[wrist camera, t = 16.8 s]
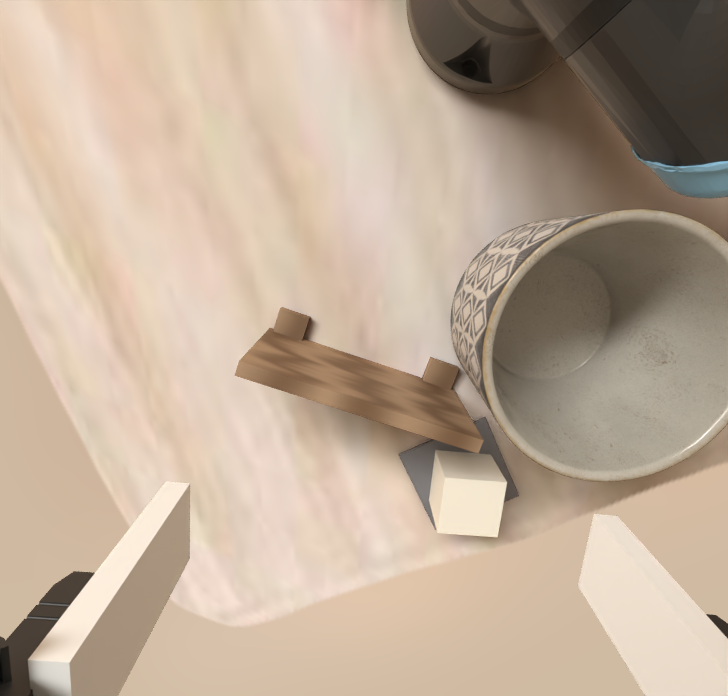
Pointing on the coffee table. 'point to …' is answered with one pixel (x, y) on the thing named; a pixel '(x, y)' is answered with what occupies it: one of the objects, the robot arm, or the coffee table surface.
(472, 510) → the cream cube
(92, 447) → the coffee table surface
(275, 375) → the walnut screen
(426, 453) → the mat
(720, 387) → the planter
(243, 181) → the coffee table surface
